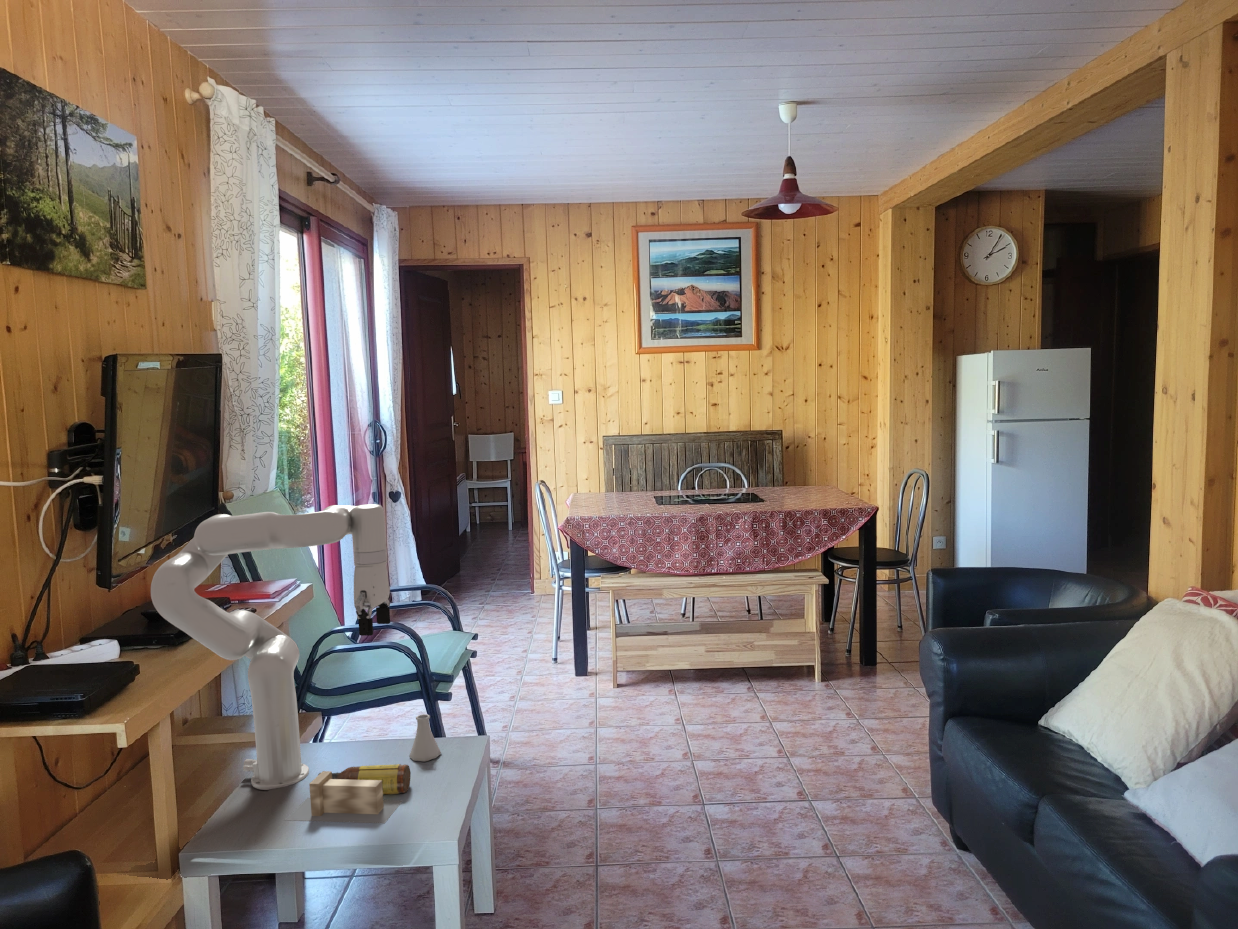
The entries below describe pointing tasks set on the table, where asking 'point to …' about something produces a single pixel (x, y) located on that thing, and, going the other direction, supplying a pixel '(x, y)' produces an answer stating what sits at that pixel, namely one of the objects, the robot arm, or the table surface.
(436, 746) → the flask
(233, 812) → the table surface
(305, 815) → the mat
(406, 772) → the sauce bottle
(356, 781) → the beige t-shaped block
